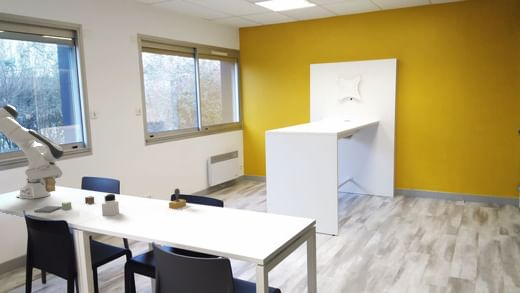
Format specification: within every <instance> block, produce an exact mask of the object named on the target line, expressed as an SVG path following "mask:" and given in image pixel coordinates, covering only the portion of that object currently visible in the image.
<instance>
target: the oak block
mask: <svg viewBox="0 0 520 293" xmlns="http://www.w3.org/2000/svg"><path fill="white" fill-rule="evenodd" d="M55 181H56V179H55V180H54V178H47V179H45V182H47V183H48V184H47V185H45V189H46V192H50V193H51V192H56V183H55Z"/></svg>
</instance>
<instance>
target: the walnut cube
mask: <svg viewBox="0 0 520 293" xmlns="http://www.w3.org/2000/svg"><path fill="white" fill-rule="evenodd" d="M84 202H85V204H87V203H88V205H90V204H94V203H95V197H94V196H92V195H90V196H86V197H84Z"/></svg>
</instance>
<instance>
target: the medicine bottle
mask: <svg viewBox="0 0 520 293" xmlns="http://www.w3.org/2000/svg"><path fill="white" fill-rule="evenodd" d="M103 200H104V202H103V203H101V211H102V212H101V213H102V216H104V217H105V216H106V217H107V216H112V217H113V216H116V215H117V214H119V213H120V210H119V209H120V207H119V201H118V200H116V194H114V193H108V194H105V195H104V199H103Z"/></svg>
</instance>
